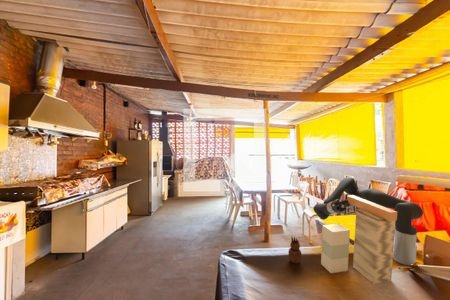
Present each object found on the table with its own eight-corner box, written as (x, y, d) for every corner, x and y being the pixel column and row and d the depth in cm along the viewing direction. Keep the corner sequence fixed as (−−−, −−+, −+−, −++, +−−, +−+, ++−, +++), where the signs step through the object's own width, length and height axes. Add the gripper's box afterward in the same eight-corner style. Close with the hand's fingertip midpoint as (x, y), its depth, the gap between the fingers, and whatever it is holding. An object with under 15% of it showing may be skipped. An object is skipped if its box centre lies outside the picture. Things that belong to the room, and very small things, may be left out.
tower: (336, 261, 123) (338, 223, 121) (347, 270, 116) (349, 230, 113) (321, 263, 121) (322, 225, 119) (330, 273, 113) (332, 232, 111)
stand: (368, 264, 121) (372, 207, 118) (391, 280, 108) (395, 217, 105) (352, 267, 118) (356, 209, 115) (373, 283, 106) (378, 218, 103)
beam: (353, 202, 127) (353, 195, 126) (396, 220, 101) (397, 211, 101) (346, 202, 126) (347, 195, 125) (389, 221, 100) (390, 212, 100)
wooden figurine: (287, 262, 123) (288, 236, 121) (289, 257, 128) (290, 232, 126) (300, 266, 119) (300, 239, 118) (301, 260, 124) (302, 235, 123)
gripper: (348, 212, 137) (367, 206, 122) (327, 213, 134) (345, 208, 120) (344, 200, 140) (362, 193, 126) (324, 201, 137) (340, 195, 123)
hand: (354, 201), depth 123 cm, fingers open, 8 cm apart
